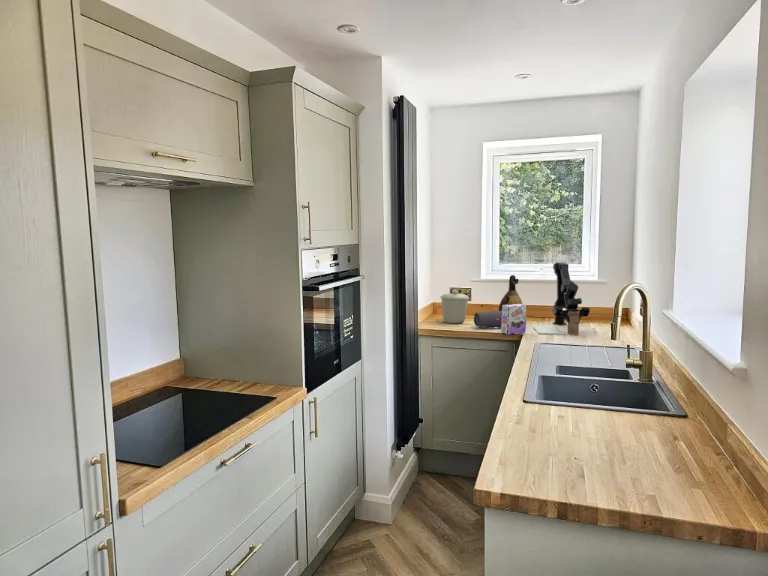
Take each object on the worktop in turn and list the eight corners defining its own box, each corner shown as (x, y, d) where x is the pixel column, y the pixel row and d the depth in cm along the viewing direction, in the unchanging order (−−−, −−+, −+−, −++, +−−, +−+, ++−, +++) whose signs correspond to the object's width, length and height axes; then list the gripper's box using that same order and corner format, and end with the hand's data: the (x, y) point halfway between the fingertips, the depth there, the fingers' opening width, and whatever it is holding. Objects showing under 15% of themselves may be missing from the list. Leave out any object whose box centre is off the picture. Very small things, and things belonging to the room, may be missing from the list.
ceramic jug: (525, 323, 335) (527, 276, 331) (501, 323, 335) (502, 276, 331) (519, 318, 352) (520, 274, 348) (495, 318, 352) (497, 273, 348)
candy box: (507, 335, 297) (508, 306, 295) (500, 333, 302) (501, 304, 301) (525, 333, 304) (527, 304, 302) (518, 331, 309) (520, 303, 307)
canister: (472, 321, 338) (473, 289, 336) (461, 326, 323) (462, 292, 321) (447, 319, 348) (448, 287, 346) (434, 322, 333) (435, 289, 331)
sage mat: (532, 327, 322) (532, 325, 322) (555, 327, 321) (555, 326, 321) (538, 334, 300) (538, 332, 300) (564, 334, 299) (564, 333, 299)
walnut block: (567, 333, 303) (568, 311, 302) (576, 333, 303) (577, 311, 301) (569, 334, 299) (570, 312, 297) (578, 335, 298) (579, 312, 297)
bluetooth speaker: (479, 329, 312) (480, 313, 311) (473, 326, 321) (473, 310, 320) (514, 328, 319) (514, 311, 318) (506, 325, 328) (506, 309, 326)
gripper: (556, 292, 303) (559, 314, 293) (589, 293, 301) (594, 315, 292) (552, 304, 312) (556, 326, 302) (585, 305, 310) (589, 326, 300)
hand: (573, 323), depth 299 cm, fingers closed on walnut block, 5 cm apart
